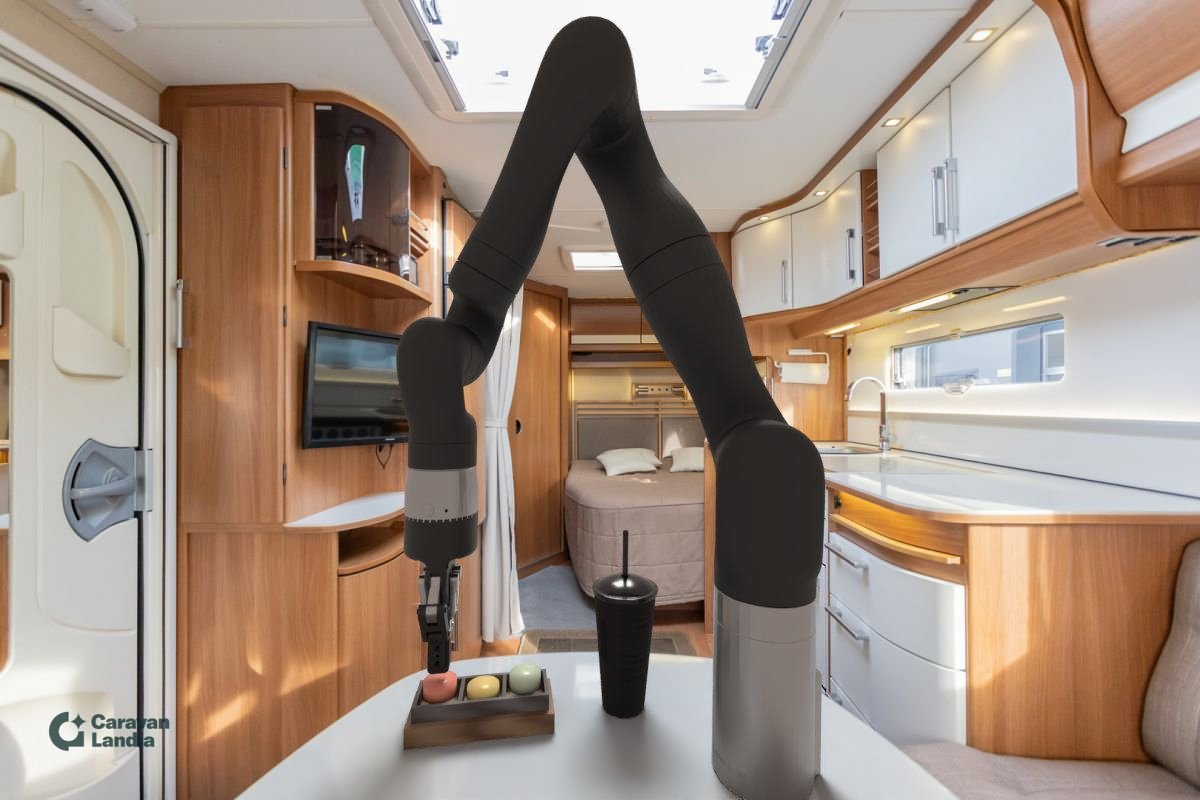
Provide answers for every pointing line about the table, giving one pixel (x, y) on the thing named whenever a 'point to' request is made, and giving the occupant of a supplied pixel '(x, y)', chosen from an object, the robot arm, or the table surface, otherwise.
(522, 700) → the toy traffic light
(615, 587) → the drinking cup
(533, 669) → the button sage
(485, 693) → the button ochre
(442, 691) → the button coral
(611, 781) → the table surface
